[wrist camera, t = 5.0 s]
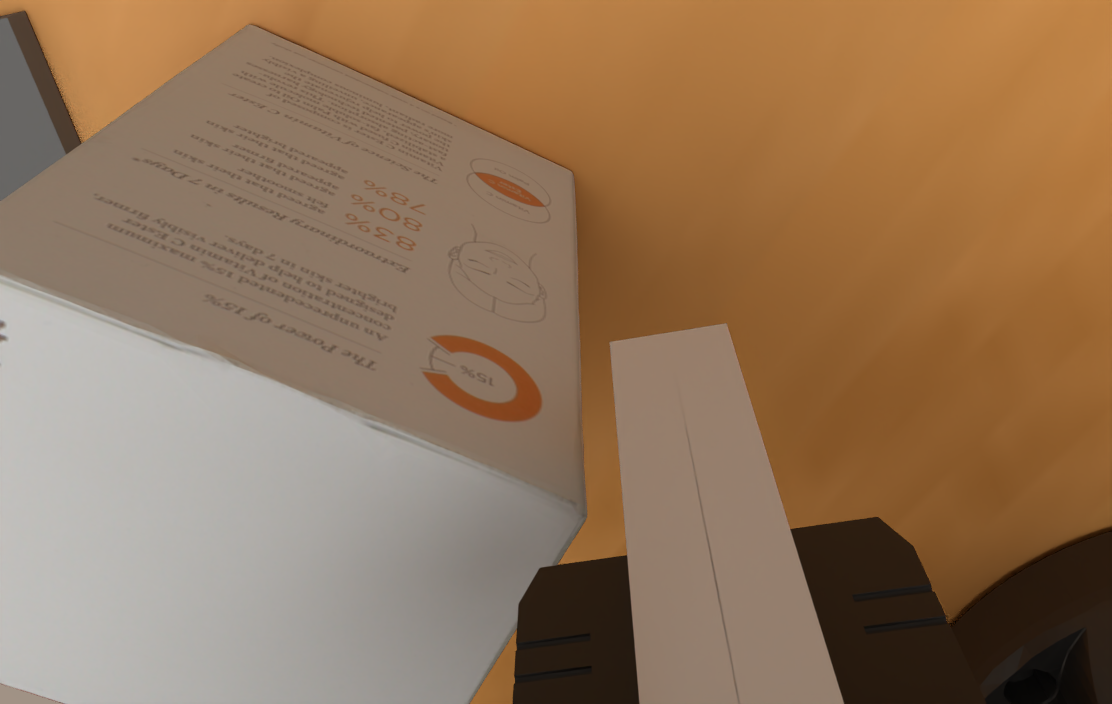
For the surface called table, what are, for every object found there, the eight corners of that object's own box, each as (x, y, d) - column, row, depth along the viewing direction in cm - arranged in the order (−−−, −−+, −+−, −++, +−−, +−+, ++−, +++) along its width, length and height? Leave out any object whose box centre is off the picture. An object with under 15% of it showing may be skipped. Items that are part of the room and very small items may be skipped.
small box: (168, 260, 25) (-170, 645, 14) (247, 15, 22) (-90, 236, 11) (475, 386, 27) (405, 827, 15) (584, 171, 24) (600, 508, 12)
